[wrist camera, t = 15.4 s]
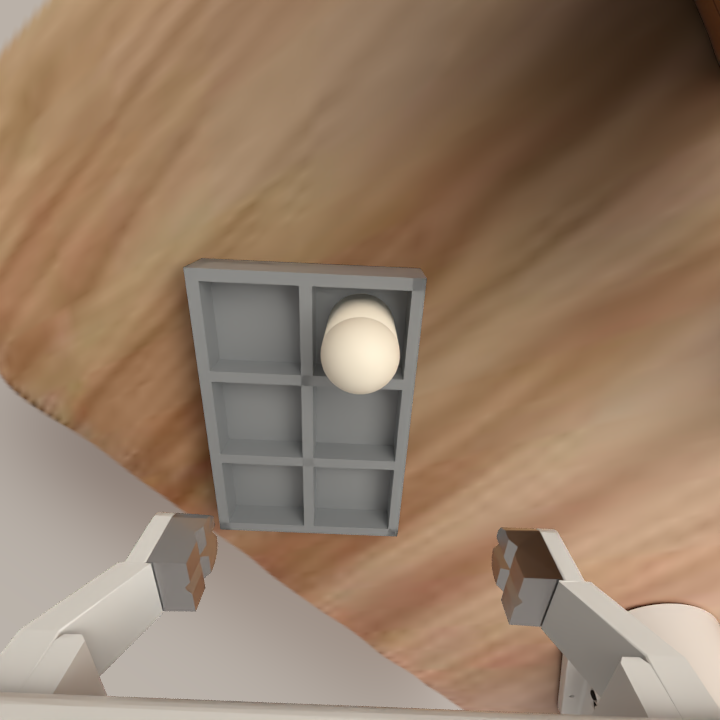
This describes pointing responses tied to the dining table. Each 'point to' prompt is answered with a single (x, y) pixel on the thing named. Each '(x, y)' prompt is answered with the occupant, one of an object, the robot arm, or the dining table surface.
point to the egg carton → (300, 396)
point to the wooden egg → (360, 345)
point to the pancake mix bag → (711, 22)
